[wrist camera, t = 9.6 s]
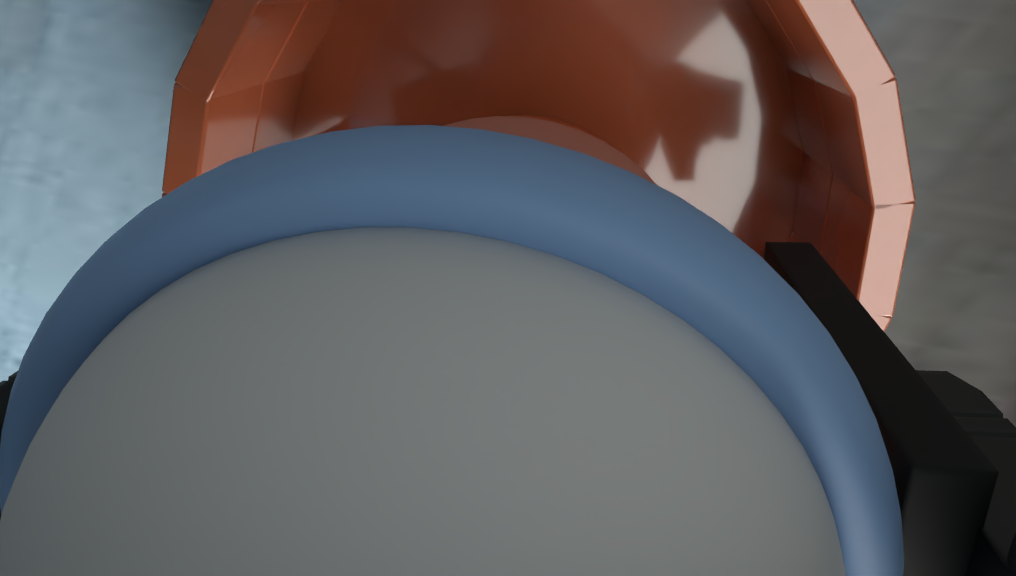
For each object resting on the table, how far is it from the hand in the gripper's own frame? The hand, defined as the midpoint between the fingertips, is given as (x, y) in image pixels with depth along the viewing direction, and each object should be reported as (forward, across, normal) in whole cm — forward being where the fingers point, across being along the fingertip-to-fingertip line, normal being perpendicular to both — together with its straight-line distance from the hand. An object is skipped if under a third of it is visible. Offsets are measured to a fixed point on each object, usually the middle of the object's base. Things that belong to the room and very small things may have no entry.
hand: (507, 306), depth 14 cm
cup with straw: (+4, 0, 0) cm, 4 cm away
